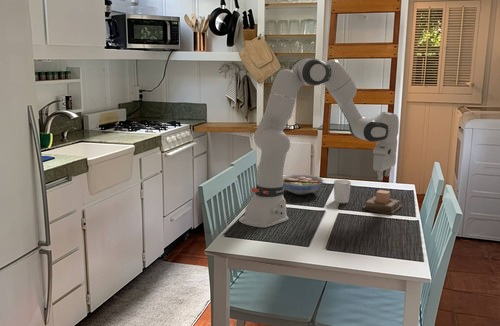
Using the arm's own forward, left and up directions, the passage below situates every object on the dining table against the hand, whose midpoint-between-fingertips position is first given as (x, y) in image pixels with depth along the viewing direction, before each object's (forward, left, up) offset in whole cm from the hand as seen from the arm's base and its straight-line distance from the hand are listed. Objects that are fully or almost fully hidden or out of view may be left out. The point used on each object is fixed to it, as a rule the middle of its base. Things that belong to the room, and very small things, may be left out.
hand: (383, 177), depth 218 cm
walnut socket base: (0, 0, -15) cm, 15 cm away
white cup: (-1, +20, -15) cm, 25 cm away
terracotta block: (0, 0, -14) cm, 14 cm away
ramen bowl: (0, +43, -15) cm, 45 cm away
